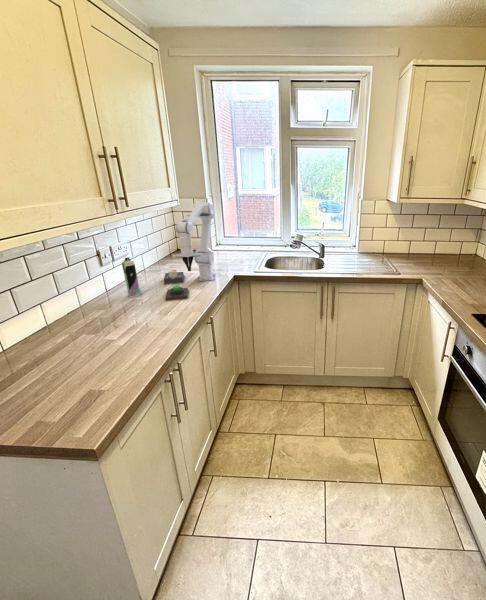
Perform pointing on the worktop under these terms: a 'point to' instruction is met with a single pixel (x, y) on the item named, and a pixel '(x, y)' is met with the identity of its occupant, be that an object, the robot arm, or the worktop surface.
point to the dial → (173, 273)
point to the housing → (177, 294)
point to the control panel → (174, 280)
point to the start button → (176, 288)
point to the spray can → (131, 278)
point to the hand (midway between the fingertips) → (189, 270)
